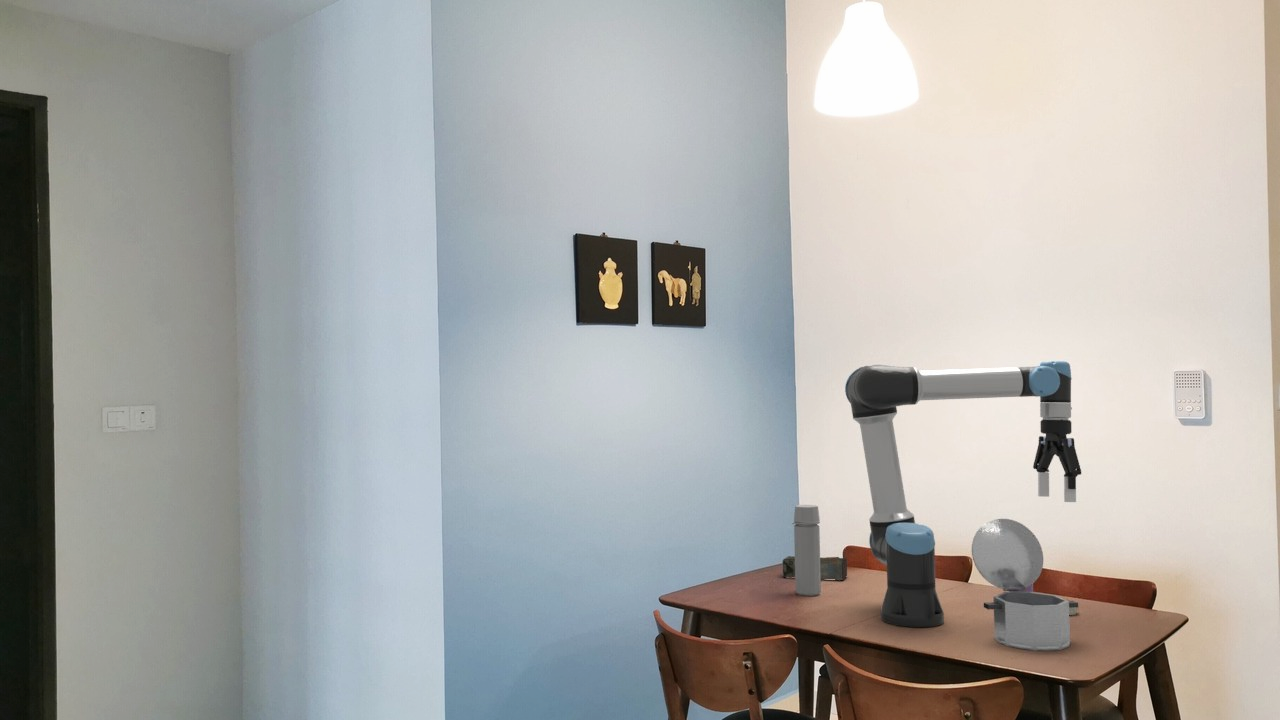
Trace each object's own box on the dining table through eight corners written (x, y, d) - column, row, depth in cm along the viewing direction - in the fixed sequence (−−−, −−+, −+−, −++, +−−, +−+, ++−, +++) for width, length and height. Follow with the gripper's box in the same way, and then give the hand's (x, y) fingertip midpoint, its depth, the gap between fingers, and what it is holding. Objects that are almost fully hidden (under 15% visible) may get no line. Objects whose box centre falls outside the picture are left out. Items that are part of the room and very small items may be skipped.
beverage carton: (787, 574, 290) (787, 553, 291) (848, 577, 284) (847, 556, 284) (782, 578, 283) (781, 557, 283) (844, 582, 276) (844, 560, 277)
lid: (968, 518, 220) (963, 521, 223) (980, 591, 214) (974, 593, 217) (1037, 517, 221) (1031, 520, 224) (1050, 589, 214) (1044, 591, 217)
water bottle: (827, 595, 257) (825, 506, 259) (803, 597, 254) (801, 508, 256) (809, 589, 266) (807, 503, 267) (786, 591, 263) (784, 504, 264)
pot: (1002, 652, 198) (1000, 607, 198) (971, 633, 214) (970, 592, 214) (1095, 649, 199) (1093, 605, 199) (1058, 631, 215) (1056, 590, 215)
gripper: (1095, 420, 230) (1096, 504, 229) (1045, 418, 255) (1046, 494, 254) (1066, 419, 229) (1067, 504, 228) (1019, 418, 254) (1020, 494, 253)
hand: (1056, 499), depth 241 cm, fingers open, 13 cm apart
